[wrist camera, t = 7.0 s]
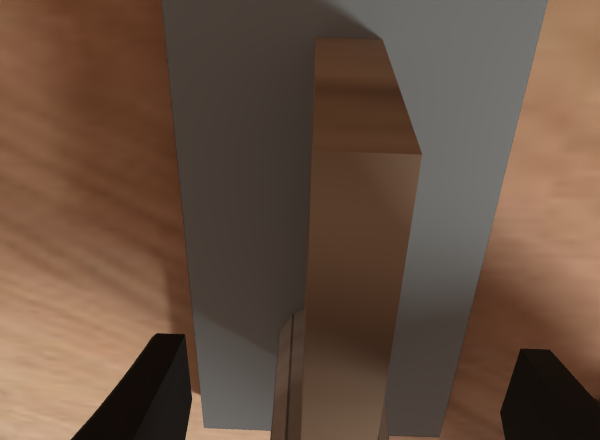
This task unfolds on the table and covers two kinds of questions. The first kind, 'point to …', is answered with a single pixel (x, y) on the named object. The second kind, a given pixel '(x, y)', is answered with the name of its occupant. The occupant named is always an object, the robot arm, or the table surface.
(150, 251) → the table surface
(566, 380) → the robot arm
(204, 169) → the hinge board
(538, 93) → the table surface
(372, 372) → the door
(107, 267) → the table surface
